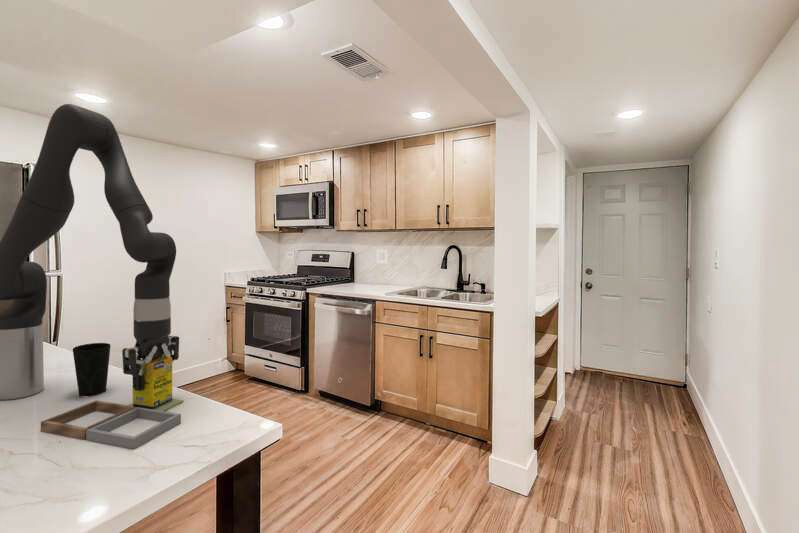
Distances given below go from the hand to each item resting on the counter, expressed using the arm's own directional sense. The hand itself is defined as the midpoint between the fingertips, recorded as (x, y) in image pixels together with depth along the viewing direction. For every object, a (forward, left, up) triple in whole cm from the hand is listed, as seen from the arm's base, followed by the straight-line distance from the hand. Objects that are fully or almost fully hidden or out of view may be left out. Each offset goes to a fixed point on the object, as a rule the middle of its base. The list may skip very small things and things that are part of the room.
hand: (152, 384), depth 95 cm
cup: (-21, +2, -5) cm, 22 cm away
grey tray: (+7, -11, -5) cm, 14 cm away
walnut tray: (-5, -11, -5) cm, 13 cm away
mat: (0, 0, -5) cm, 5 cm away
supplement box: (0, 0, -5) cm, 5 cm away
